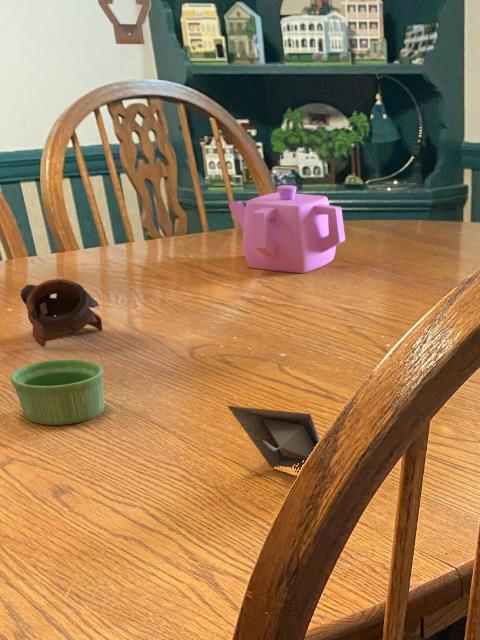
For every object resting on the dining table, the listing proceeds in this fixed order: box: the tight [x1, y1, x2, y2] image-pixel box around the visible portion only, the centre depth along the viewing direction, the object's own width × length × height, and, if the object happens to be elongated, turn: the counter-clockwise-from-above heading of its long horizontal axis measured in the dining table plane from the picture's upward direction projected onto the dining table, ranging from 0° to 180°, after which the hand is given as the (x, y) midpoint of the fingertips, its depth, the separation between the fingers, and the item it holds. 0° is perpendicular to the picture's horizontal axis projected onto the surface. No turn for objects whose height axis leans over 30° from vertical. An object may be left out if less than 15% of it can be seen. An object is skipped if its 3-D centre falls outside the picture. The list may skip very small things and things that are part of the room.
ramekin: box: [9, 358, 106, 426], centre depth 95 cm, size 9×9×4 cm
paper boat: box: [227, 405, 321, 477], centre depth 83 cm, size 12×6×9 cm
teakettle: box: [227, 184, 346, 274], centre depth 154 cm, size 17×17×12 cm
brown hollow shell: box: [20, 278, 103, 348], centre depth 117 cm, size 12×10×8 cm
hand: (131, 44), depth 95 cm, fingers closed
